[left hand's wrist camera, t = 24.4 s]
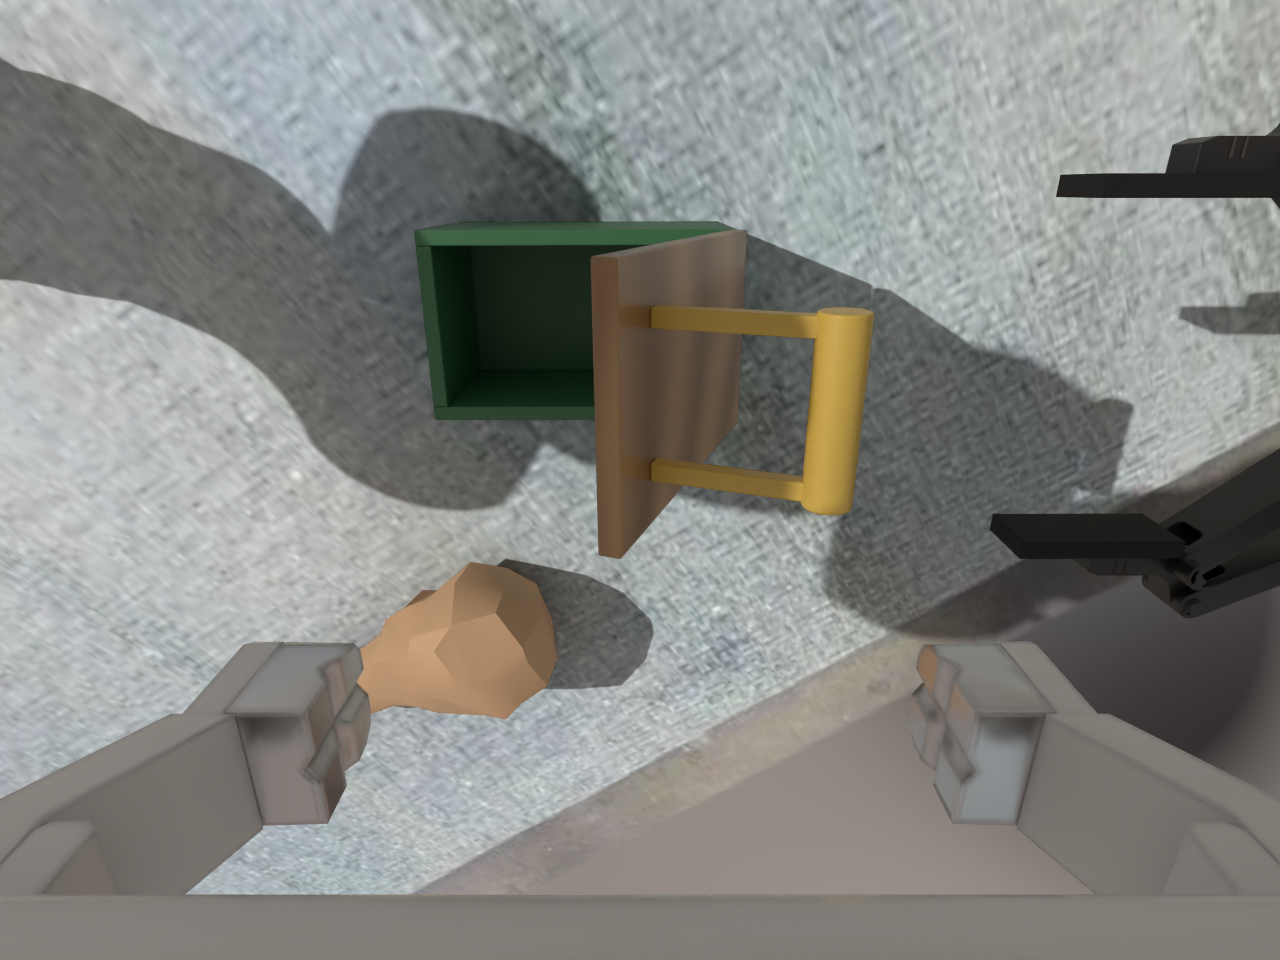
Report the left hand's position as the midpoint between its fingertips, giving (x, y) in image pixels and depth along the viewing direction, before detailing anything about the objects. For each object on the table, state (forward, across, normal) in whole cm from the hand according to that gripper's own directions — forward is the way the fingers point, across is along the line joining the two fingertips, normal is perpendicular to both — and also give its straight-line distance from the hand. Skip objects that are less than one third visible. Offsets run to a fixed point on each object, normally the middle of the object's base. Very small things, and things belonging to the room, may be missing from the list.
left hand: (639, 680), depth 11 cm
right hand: (+19, -15, 0) cm, 24 cm away
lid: (+21, -1, 0) cm, 21 cm away
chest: (+39, +3, 0) cm, 39 cm away
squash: (+39, +15, +25) cm, 49 cm away
